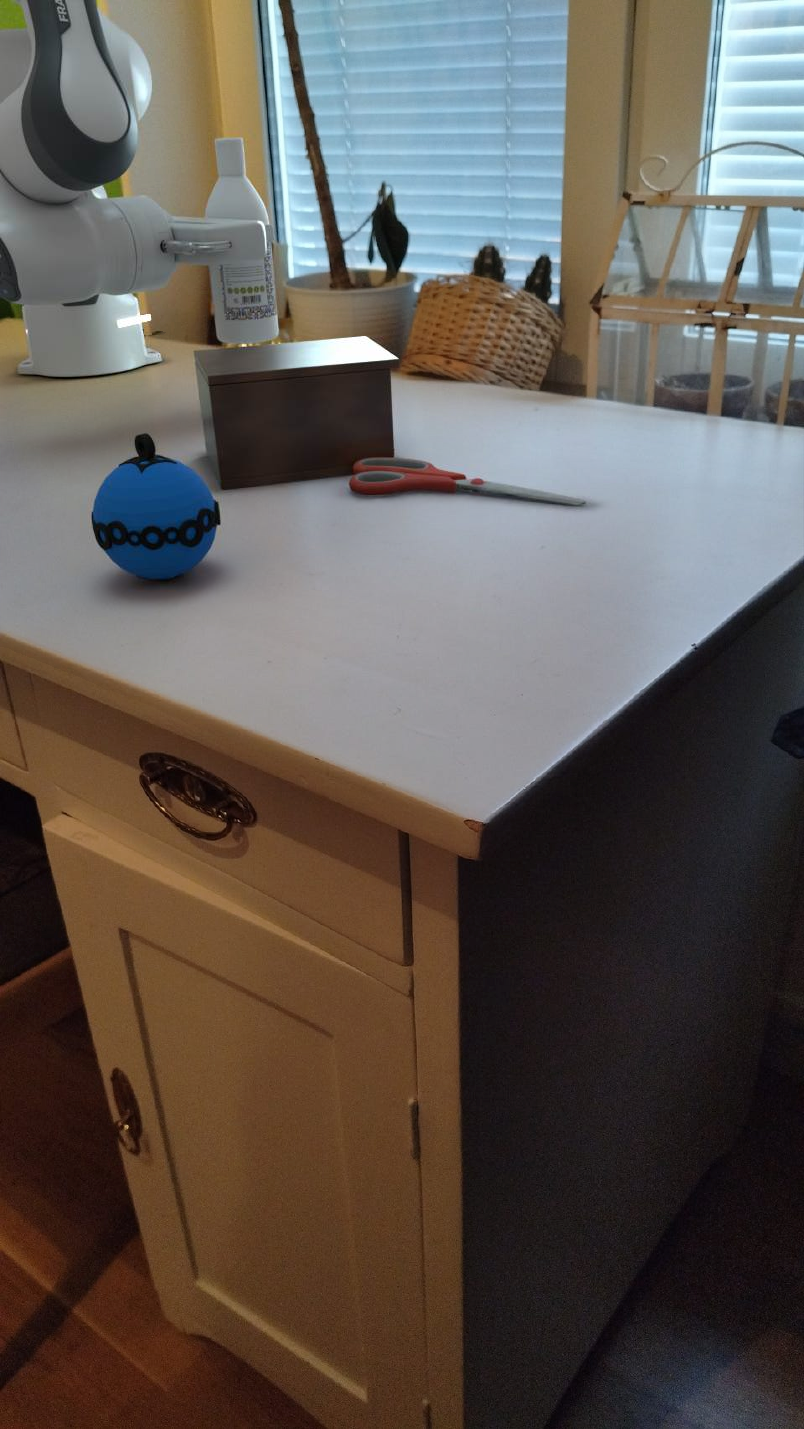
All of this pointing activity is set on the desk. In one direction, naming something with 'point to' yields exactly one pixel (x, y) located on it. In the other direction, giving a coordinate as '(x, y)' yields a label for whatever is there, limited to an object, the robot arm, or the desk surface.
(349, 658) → the desk surface
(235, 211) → the bath foam
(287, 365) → the lid
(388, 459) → the scissors
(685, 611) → the desk surface
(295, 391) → the chest
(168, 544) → the ornament
